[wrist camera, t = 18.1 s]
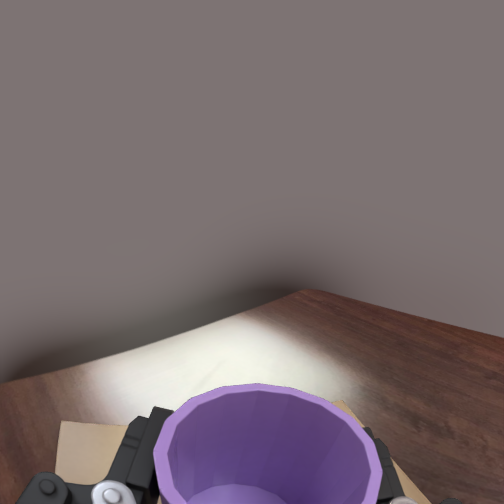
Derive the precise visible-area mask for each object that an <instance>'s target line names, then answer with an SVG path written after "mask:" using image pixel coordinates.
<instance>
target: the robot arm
mask: <svg viewBox="0 0 504 504" xmlns="http://www.w3.org/2000/svg"><path fill="white" fill-rule="evenodd" d="M173 413H174V411H173V410H168V409H164V408H160V407H156V406H154V407H153V409H152V412H151V414H150V417H149V418H145V417H142V416H138V417H137V418H135V419H134V420H133V421H132V422H131V423H130V424H129V425H128V428H127V430H126V432H125V436H124V437H123V439H122V441H121V445H120V446H119V448H118V451H117V453H116V455H115V458H114V460H113V462H112V465H111V467H110V469H109V472H108V474H107V476H106V477H105V478H104V479H103V480H102V481H100V482H99V483H96V484H92V485H83V484H75V483H68V482H64V480H63V479H62V478H61V477H60V476H58V475H56V474H54V473H51V472H40V473H38V474H36V475H35V476H34V477H33V478H32V479H31V481H30V482H29V484H28V485H27V487H26V488H25V490H24V491H23V493H22V494H21V496H20V497H19V499H18V500H17V502H16V503H15V504H157V503H158V499H159V495H160V494H159V488H158V483H157V477H156V471H155V465H154V458H153V449H154V447H155V444H156V442H157V439H158V437H159V434H160V432H161V429H162V427H163V424H164V422H165V420H166V419H167V418H168V417H169V416H170V415H172V414H173ZM362 428H363V430H364V431H365V432H366V433H367V434H368V435H369V437H370V438H371V439H372V440H373V442H374V444H375V447H376V450H377V454H378V457H379V460H380V464H381V467H382V472H383V474H382V479H381V484H380V489H379V493H378V497H377V502H376V504H418V503H417V502H416V501H415V500H414V499H412V498H410V497H406V495H405V494H404V491H403V488H402V486H401V483H400V480H399V477H398V475H397V472H396V469H395V467H394V466H393V465H394V464H393V461H392V459H391V458H390V457H391V456H390V453H389V451H388V448H387V446H386V445H385V444H384V443H383V442H382V441H381V440H380V439H379V438H378V439H374V436H373V434H372V431H371V429H370V428H369V427H362ZM440 504H462V503H461V501H459V500H458V499H455V498H448V499H445V500H443V501H442V502H441V503H440Z"/></svg>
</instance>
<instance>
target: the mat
mask: <svg viewBox="0 0 504 504" xmlns="http://www.w3.org/2000/svg"><path fill="white" fill-rule="evenodd" d="M332 404H333V405H335V406H336V407H338V408H339V409H341V410H342V411H344V412H346V413H347V414H349V415H350V416H352V417H353V418H354V419H355V420H356V421H357V422H358V424H359V425H360V426H361V427H364V426H363V424H362V423H361V422H360V421H359V420H358V418H357V417H356V416H355V415H354V414H353V412H352V411H351V410H350V409H349V408H348V406H347V405H346V404H345V403H344V402H343V400H340V401H336V402H332ZM127 428H128V426H123V425H103V424H89V423H79V422H69V421H61V426H60V433H59V440H58V448H57V457H56V468H55V474H56V475H58V476H60V477H61V478H62V479H63V480H64V482H68V483H75V484H83V485H92V484H96V483H99V482H100V481H102V480H103V479H104V478H105V477H106V476H107V474H108V472H109V469H110V467H111V465H112V462H113V460H114V458H115V455H116V453H117V451H118V448H119V446H120V445H121V441H122V439H123V437H124V436H125V432H126V430H127ZM390 458H391V457H390ZM391 459H392V458H391ZM392 461H393V460H392ZM393 464H394V465H393V466H394V467H395V469H396V472H397V475H398V477H399V480H400V483H401V486H402V488H403V491H404V494H405V495H406V497H410V498H412V499H414V500H415V501H416V502H417V503H418V504H431V503H430V502H429V500H428V499H427V498H426V497H425V496H424V495H423V494H422V493H421V491H420V490H419V489H418V488H417V487H416V486H415V485H414V484H413V482H412V481H411V480H410V479H409V478H408V477H407V476H406V474H405V473H404V472H403V471H402V470H401V469H400V468H399V466H398V465H397V464H396V463H395V462H394V461H393ZM157 504H161V499H160V495H159V499H158V503H157Z"/></svg>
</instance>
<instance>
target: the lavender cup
mask: <svg viewBox="0 0 504 504" xmlns="http://www.w3.org/2000/svg"><path fill="white" fill-rule="evenodd" d="M153 458H154V465H155V471H156V477H157V483H158V488H159V494H160V499H161V504H376V502H377V497H378V493H379V489H380V484H381V479H382V474H383V472H382V467H381V464H380V460H379V457H378V454H377V450H376V447H375V444H374V442H373V440H372V439H371V438H370V437H369V435H368V434H367V433H366V432H365V431H364V430H363V428H362V427H361V426H360V425H359V424H358V422H357V421H356V420H355V419H354V418H353V417H352V416H350V415H349V414H347V413H346V412H344V411H342V410H341V409H339V408H338V407H336V406H335V405H333V404H332V403H330V402H329V401H327V400H325V399H323V398H320V397H317V396H314V395H311V394H308V393H305V392H303V391H300V390H297V389H294V388H290V387H282V386H274V385H266V384H259V383H254V384H244V385H233V386H223V387H219V388H217V389H214V390H211V391H209V392H206V393H203V394H201V395H198V396H195V397H192V398H191V399H189V400H188V401H187V402H185V403H184V404H183V405H182V406H181V407H180V408H179V409H177V410H176V411H175V412H174V413H173V414H172V415H170V416H169V417H168V418H167V419H166V420H165V422H164V424H163V427H162V429H161V432H160V434H159V437H158V439H157V442H156V444H155V447H154V449H153Z"/></svg>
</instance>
